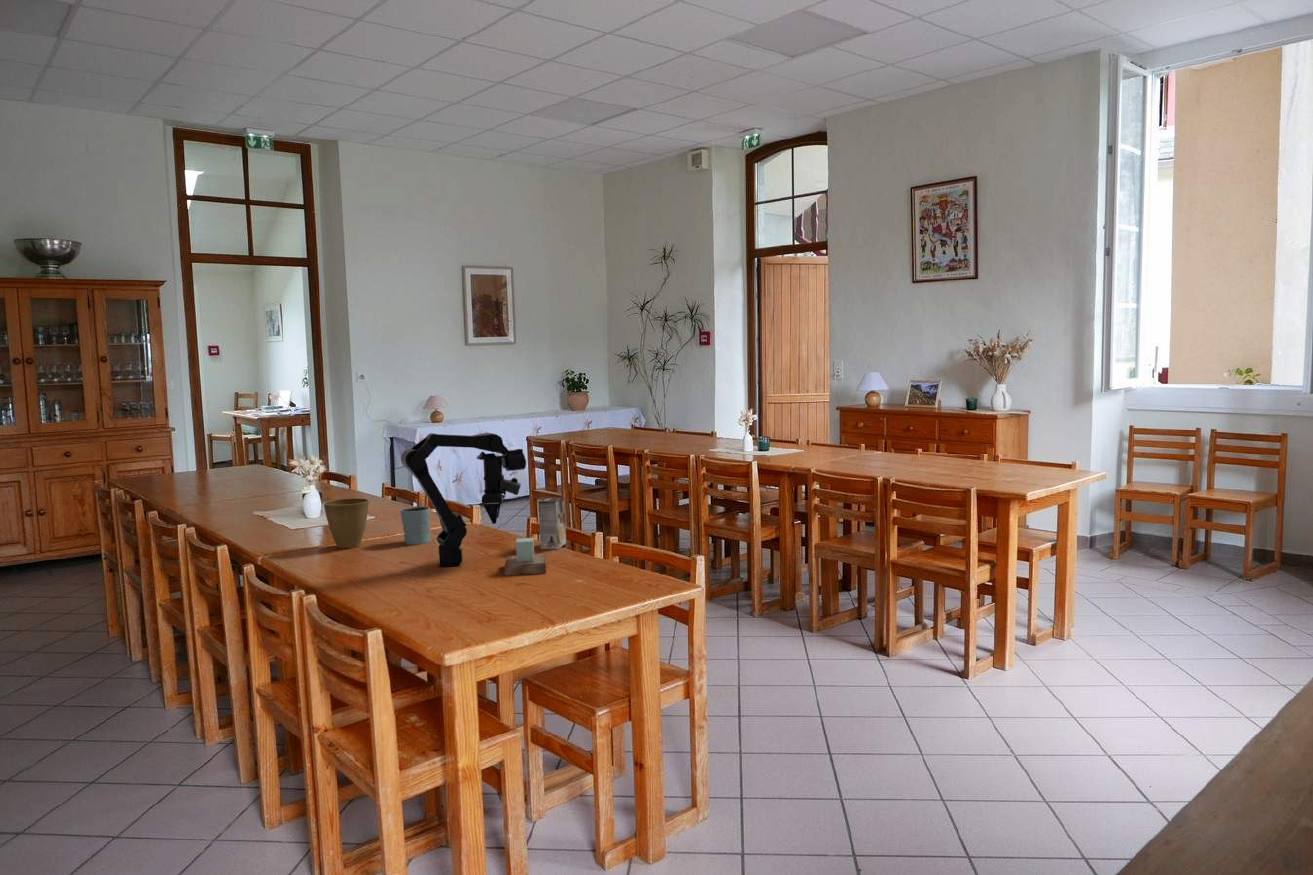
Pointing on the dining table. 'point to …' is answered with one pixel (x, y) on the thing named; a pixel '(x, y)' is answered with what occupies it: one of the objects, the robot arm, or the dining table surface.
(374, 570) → the dining table surface
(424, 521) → the blue-grey cup
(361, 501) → the plant pot
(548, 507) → the coffee box
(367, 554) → the dining table surface
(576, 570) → the dining table surface
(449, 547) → the robot arm
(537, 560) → the grayish brown panel
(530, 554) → the sage block
